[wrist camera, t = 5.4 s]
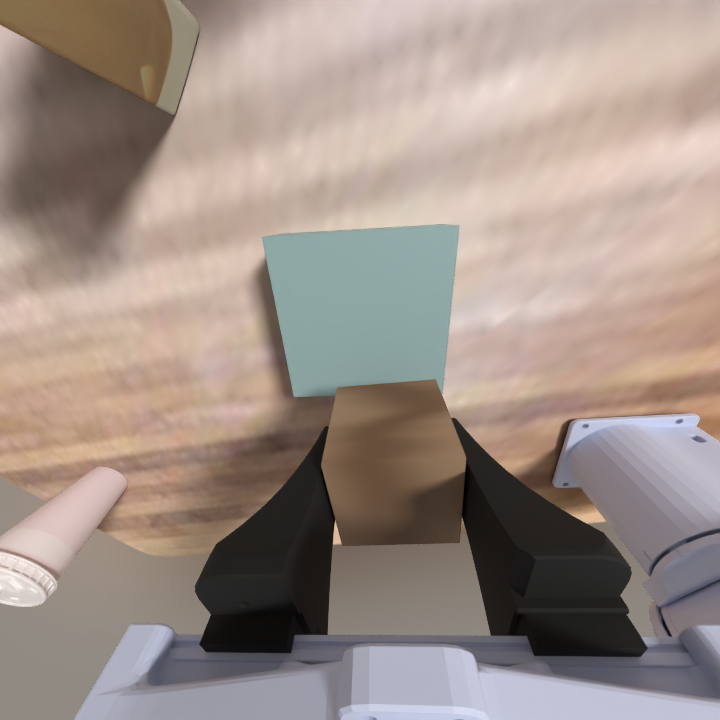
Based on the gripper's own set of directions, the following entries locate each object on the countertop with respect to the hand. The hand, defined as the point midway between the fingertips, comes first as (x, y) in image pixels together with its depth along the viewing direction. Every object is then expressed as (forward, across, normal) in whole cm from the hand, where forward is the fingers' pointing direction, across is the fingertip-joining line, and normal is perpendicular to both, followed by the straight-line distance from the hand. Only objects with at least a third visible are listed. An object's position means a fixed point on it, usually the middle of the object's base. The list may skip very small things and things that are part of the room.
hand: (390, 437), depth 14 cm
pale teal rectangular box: (+9, +1, -4) cm, 10 cm away
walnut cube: (+2, 0, 0) cm, 2 cm away
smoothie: (+9, +30, +12) cm, 33 cm away
